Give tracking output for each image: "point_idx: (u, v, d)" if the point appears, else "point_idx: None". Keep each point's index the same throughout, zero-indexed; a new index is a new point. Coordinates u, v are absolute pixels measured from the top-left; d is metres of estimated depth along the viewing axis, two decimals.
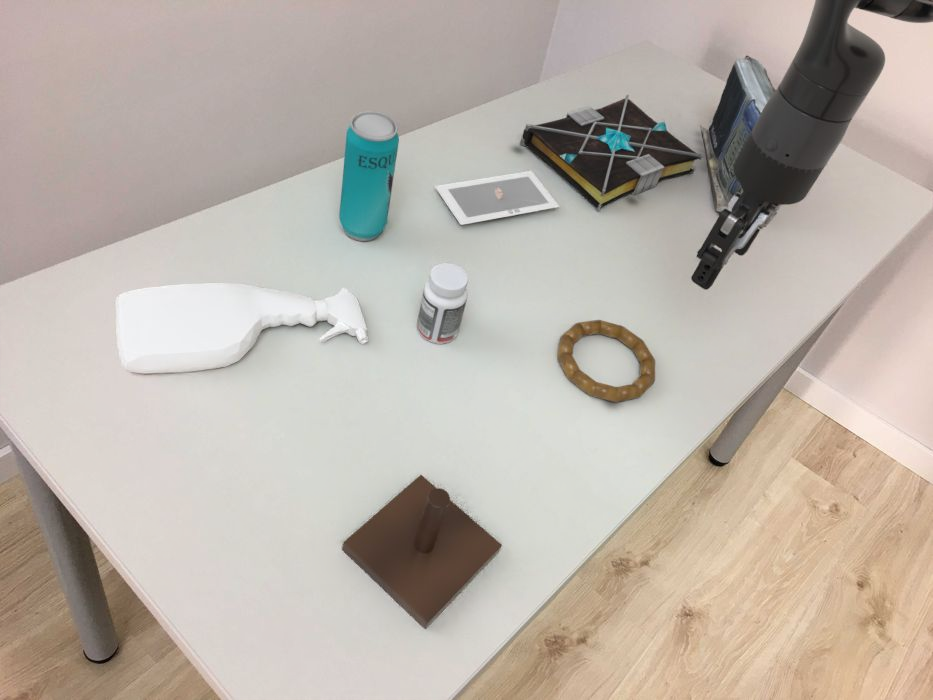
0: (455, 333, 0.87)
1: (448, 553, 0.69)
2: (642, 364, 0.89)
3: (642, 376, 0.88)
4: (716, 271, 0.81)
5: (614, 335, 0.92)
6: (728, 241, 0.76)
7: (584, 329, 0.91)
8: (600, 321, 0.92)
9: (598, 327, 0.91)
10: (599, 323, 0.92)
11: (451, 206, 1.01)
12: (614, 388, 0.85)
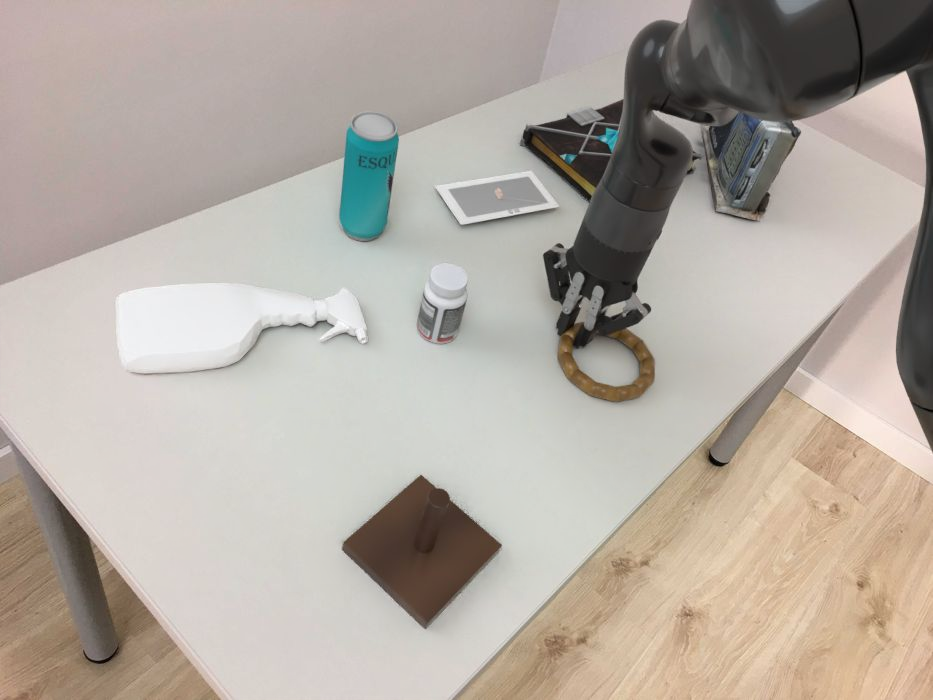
0: (455, 333, 0.87)
1: (448, 553, 0.69)
2: (642, 364, 0.89)
3: (642, 376, 0.88)
4: None
5: (614, 335, 0.92)
6: None
7: None
8: None
9: None
10: None
11: (451, 206, 1.01)
12: (614, 388, 0.85)
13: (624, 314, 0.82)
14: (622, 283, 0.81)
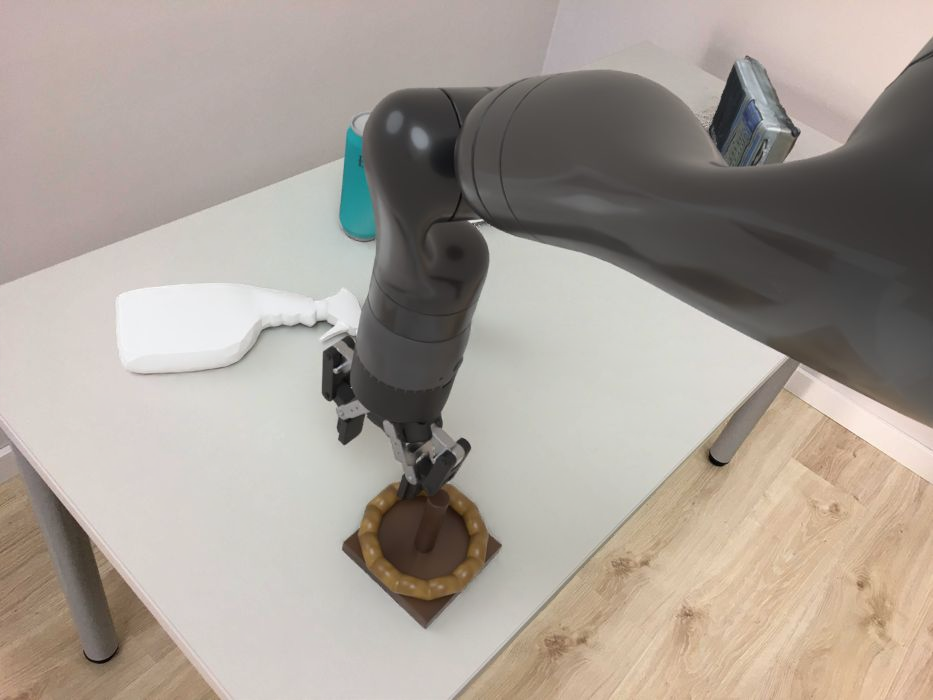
0: None
1: (448, 553, 0.69)
2: (470, 541, 0.69)
3: (466, 561, 0.68)
4: None
5: None
6: None
7: None
8: None
9: None
10: None
11: None
12: (425, 583, 0.65)
13: (433, 459, 0.59)
14: None
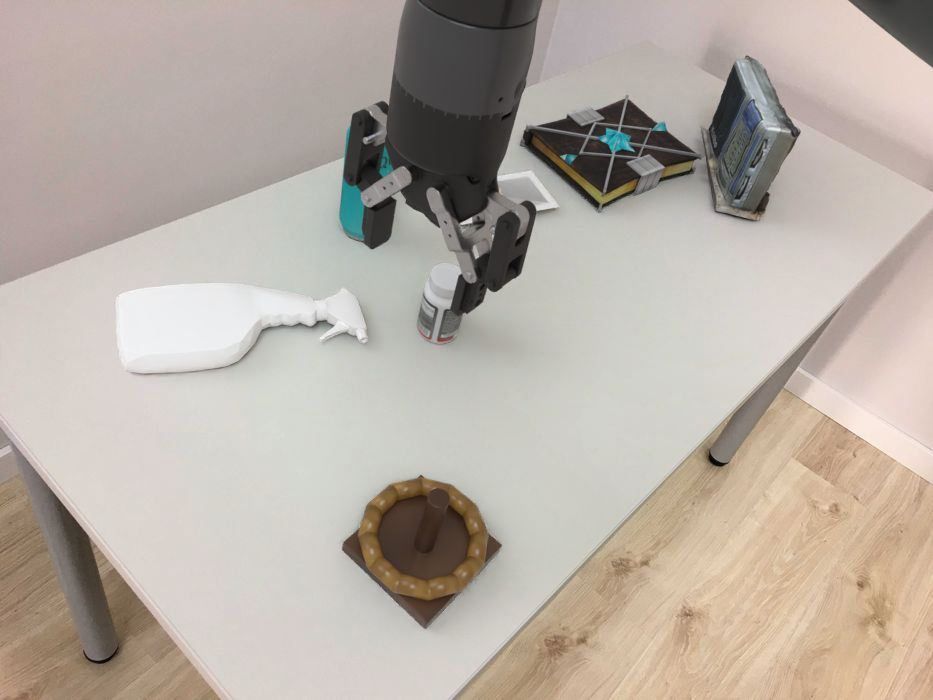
0: (455, 333, 0.87)
1: (448, 553, 0.69)
2: (470, 541, 0.69)
3: (466, 561, 0.68)
4: None
5: None
6: None
7: (398, 493, 0.71)
8: (421, 480, 0.72)
9: (418, 489, 0.71)
10: (419, 483, 0.71)
11: None
12: (425, 583, 0.65)
13: (492, 229, 0.48)
14: (460, 179, 0.48)
